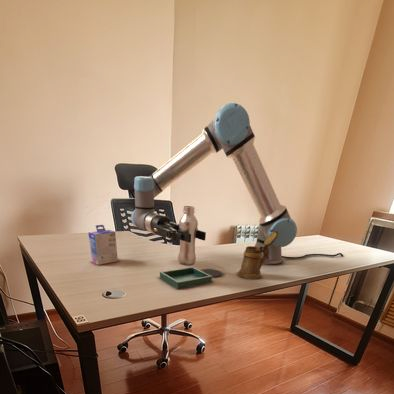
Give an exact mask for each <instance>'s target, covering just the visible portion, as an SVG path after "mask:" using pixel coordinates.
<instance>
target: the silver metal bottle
mask: <svg viewBox="0 0 394 394" xmlns="http://www.w3.org/2000/svg"><path fill="white" fill-rule="evenodd" d="M182 213H183V215H182V216H181V217H180V219H179V222H178V224H179V227H180V231H183V232H186V233H189V234H191V242H190V243H189V242H186V241H183V240H180V239H179V250H178V254H177V261H178V263H179V265H182V266H185V267H191V266H193V265H195V263H196V260H197V254H196V239H197V238H196V232H197V228H198V227H199V222H198V219H197V217H196V216H195V213H196V211H195V206H192V205H183V211H182Z"/></svg>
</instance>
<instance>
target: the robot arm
mask: <svg viewBox="0 0 394 394" xmlns="http://www.w3.org/2000/svg"><path fill="white" fill-rule="evenodd" d="M255 138H256V136H255V133H254V131H253V129H252V127H251V121H250V116H249V113H248V111H247V110H246V109H245V107H244V106H242V105H241V104H239V103H235V102H230V103H226V104H225V105H223V106H221V108H219V110H218V111H217V113H216V115H215V117H214V118H213V119H212V120H211V121H210V123H208V125H206V126H205V127H204V128H202V133H201V134H199V136H198V137H196V138H195V139H193V140H192V141H191V142H190V143H189V144H187V145H186V146H185V147H184V148H182V149H181V150H180V151H178V153H176V154H175V155H174V156H173V157H171V158H170V159H169V160H167V161H166V162H165V163H164V164H163V165H161V167H159V168H158V169H157V170H156V171H154V172H153V173H152V174H150V175H149V176H142V175H140V176H135V177H134V181H133V182H134V184H133V189H134V205H135V206H134V210H133V211H132V212H131V215H130V221H131V223H132V225H133V226H134V227H136V228H137V229H139V230H141V231H145V232H148V233H151V234H153V235H154V236H159V237H162V238H164V237H165V238H167V239H173V241H177V239H178V240H179V241H180V240H183V241H186V242H189V243H190V242H191V234H189V233H186V232H183V231H180V227H179V223H175V222H174V221H171V219H170V218H169V216H167V215H164V214H160V213H156V212H155V198H156V197H157V196H159V195H160V194H161V193H163V192H164V191H165V190H166V189H167V188H169V187H171V186H172V184H174V183H176V181H178V180H179V179H180V178H182V177H183V176H184V175H186V174H187V173H188V172H190V171H191V170H192V169H194V168H195V167H196V166H197V165H199V164H200V163H202V162H203V161H204V160H205V159H207V158H208V157H209V156H210V155H211V154H217V153H218V152H220V151H221V150H223V152H224V154H225V156H226V158H229V159H232V161H233V162H234V163H233V164H235V167H236V169H237V171H238V173H239V175H240V177H241V179H242V181H243V184H244V185H245V187H246V189H247V192H248V194H249V195H250V197H251V199H252V202H253V204H254V206H255V208H256V210H257V212H258V215H259V216H260V218H259V220H258V221H259V222H258V223H259V224H258V231H257V237H256V242H255V244H254V245H253V247H258V248H259V247H260V246H263V245H264V242H265V240H266V238H267V237H268V236H269V235H270V234H271V233H273V232H275V231H278V236H277V238H276V240H275V241H274V242H273V243H272V244H271V245H269V246H268V251H269V252H268V256H267V258H266V260H265V261H264V263H263V264H262V265H270V266H272V265H273V266H274V265H275V266H276V265H279V264H281V263H282V261H283V259H290V260H297V259H298V260H299V259H304V258H306V257H311V256H321V257H338V256H339V255H340V256H341V257H344V255H343V253H342V252H339V253H336V254H327V253H325V254H324V253H309V254H308V253H307V254H304V255H302V256H286V255H285V256H284V255H282V253H283V252H282V248H284V247H287V246H289V245H290V244H292V243H293V242H294V240H295V238H296V236H297V234H298V226H297V223H296V222H295V221H294V219H292V218H291V215H290V212H289V211H288V209H287V207H286V205H283V204H281V203H280V201H279V199H278V196H277V194H276V192H275V189H274V187H273V185H272V183H271V181H270V178H269V177H268V176H269V175H268V174H267V172H266V170H265V167H264V164H263V163H262V160H261V158H260V155H259V154H258V152H257V149H256V146H255V145H254V143H255ZM206 234H207V232H206V231H203V230H199V228H198V227H197V232H196V239H198V240H200V241H206V237H207V236H206ZM261 254H262V256H261V258H263V256H264V253H263V252H261ZM339 278H340V276H339V275H338V276H337V277H336V280H335V284H334V286H333V289H332V291H331V296H330V299H329V301H328V304H327V308H330V306H331V303H332V300H333V296H334V294H335V291H336V289H337V285H338V283H339Z"/></svg>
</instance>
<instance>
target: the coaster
mask: <svg viewBox="0 0 394 394" xmlns="http://www.w3.org/2000/svg"><path fill="white" fill-rule="evenodd" d="M200 271H202V272H204V273H206V274H208V275H210V276H212V278H218V277H221V276H222V275H223V273H222V272H221V271H220V270H217V269H214V268H213V269H212V268H205V269H200Z"/></svg>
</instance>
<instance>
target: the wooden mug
mask: <svg viewBox="0 0 394 394" xmlns="http://www.w3.org/2000/svg"><path fill="white" fill-rule="evenodd" d="M277 236H278V231H275V232H273V233H271V234H270V235H269V236H268V237H267V238H266V240H265V242H264V245H263V246H260V247H259V248H258V247H254V245H253V246H252V245H250V246H249V245H247V246H246V247H245V250H244V252H243V258H242V263H241V266H240V268H239V271H238V276H239V277H241V278H244V279H248V280H257V279H259V278H260V277H261V269H262V265H264V264H263V263H264V261H265V260H266V258H267V256H268V252H269V251H268V246H269V245H271V244H272V243H273V242H274V241H275V240H276V238H277ZM261 252H263V253H264V256H263V258H261V256H262V254H261Z"/></svg>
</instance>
